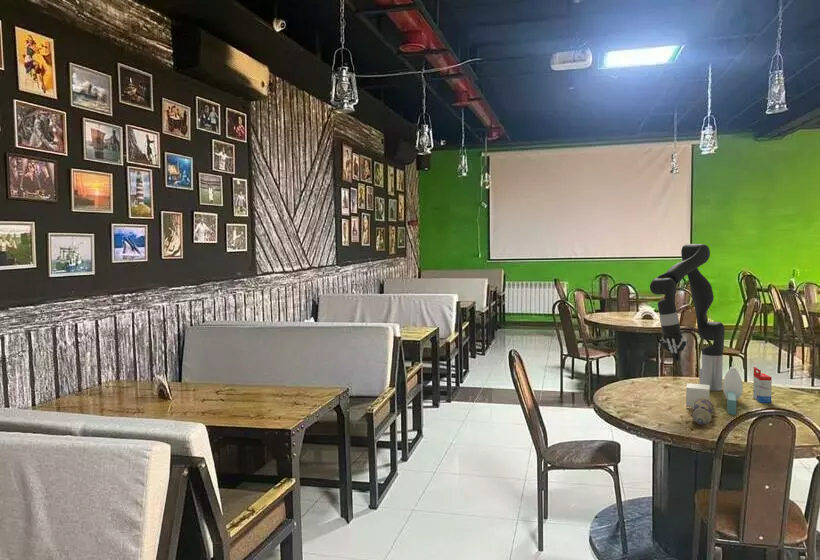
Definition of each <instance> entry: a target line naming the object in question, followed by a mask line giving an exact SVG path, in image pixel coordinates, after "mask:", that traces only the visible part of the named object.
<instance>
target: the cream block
mask: <svg viewBox="0 0 820 560" xmlns="http://www.w3.org/2000/svg"><path fill="white" fill-rule="evenodd" d="M685 388H686V390H685V391H686V392H685V394H686V395H685V397H686V398H685V408H686V407H691V408H690V409H693V407H694V403H695V401H696V400H697V399H700V398H703V399H707V400H709V401H710V390H709V385H703V384H699V383H688V382H687V383H686V387H685Z"/></svg>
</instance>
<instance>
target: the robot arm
mask: <svg viewBox="0 0 820 560" xmlns="http://www.w3.org/2000/svg"><path fill="white" fill-rule="evenodd" d="M680 255H681V261H679V262H676V263H675V264H673V265H672V266H670V267H669V269H667V271H665V272H664V273H662V274H659V275H658V276H656V277H655V278H653V279H652V281H651V282H650V284H649V289H650V292H651V293H652V294H654V295H655V296H656V295H657V296H659V295H662V296H663V295H665V298H664V299H660V300H658V302H657V308H658V309H657V310H658V314H659V322H660V326H661V327H660V328H661V333H662V335H663V336H662V339H661V340H659V341H658V342H659V344H660V346H662V347H663V348H664V350H666V351H667V352H669V353H671V357H672V360H673V361H674V362H679V361H680V360H681V352H682V351H684V350H685V348H686V346H687V344H688V343H689V340H688V339H685V338H683V335H682V330H681V324H680V319H679V315H678V312H677V306H676V291H677V284H679V283H680V282H681V281H682V280H683V279H684V278H685V277H686V276H687V278H688V279H687V280H688V283H689V289H690V293H691V299H692V303H693V306H694V311H695V317H696V326H697V333H698V337H699V338H700V339H701V340H704V341H712V344H711V345H709V346H705V347H702V348H701V367H700V368H699V383H698V384H703V385H709V392H719V391H723V380H724V379H723V378H724V377H723V375H724V374H723V369H724V368H723V366H724V364H723V363H724V361H723V360H724V359H723V358H724V348H725V345H724V344H725V335H726V334H725V333H726V331H725V325H724V324H723V322H720V321H710V320H709V321H708V318H707V314H708V312H709V309H710V307H711V306H712V304H713V302H714V297H715V296H714V291H713V286H712V284H711V283H710V282H709V280H708V279H707V277H705V276H704V274H702V273H701V271H700V270H699V269H698V268H700V267H701V266H702V265H705V263H708V260H709V259H710V257H711V256H710V255H711V251H710V247H709V246H708V245H707V244H703V243H687V244H684V245H682V246H681V251H680Z"/></svg>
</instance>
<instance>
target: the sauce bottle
mask: <svg viewBox="0 0 820 560" xmlns="http://www.w3.org/2000/svg"><path fill="white" fill-rule="evenodd" d="M723 378H724V379H723V381H722V391H723V394H724V396H725V398H726V399H727V391H730V392H735V396H736V402H737V401H738V400H739V399H740V398H741V396H742V395H743V392H744V391H743V389H744V387H743V385H744V384H743V380H742V377H741V375H740V373H739V371H738V370H737V367H735V364H734V361H732V366H730V367H729V369H728V371H727V372H726V374H725V376H724V377H723Z"/></svg>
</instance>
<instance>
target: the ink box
mask: <svg viewBox="0 0 820 560" xmlns="http://www.w3.org/2000/svg"><path fill="white" fill-rule="evenodd" d="M772 380H773V378H772V376H770V375H768V374H766V373H764V372H762V370H761V369H759V368H757V367H755V366H754V367H753V380H752V381H753V385H752V386H753V390H752V391H753V392H752V396H753V397H752V398H753V399H754V400H756V401H757V402H759V403H763V404H767V403H768V404H770V403H772Z"/></svg>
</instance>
